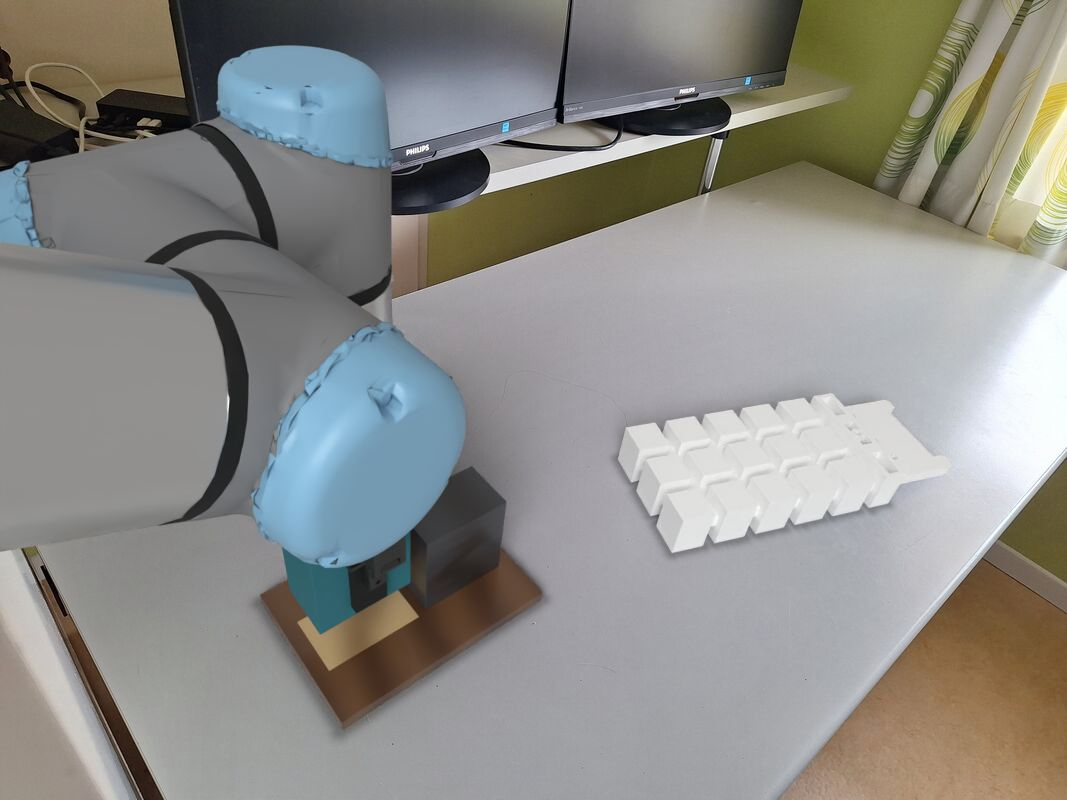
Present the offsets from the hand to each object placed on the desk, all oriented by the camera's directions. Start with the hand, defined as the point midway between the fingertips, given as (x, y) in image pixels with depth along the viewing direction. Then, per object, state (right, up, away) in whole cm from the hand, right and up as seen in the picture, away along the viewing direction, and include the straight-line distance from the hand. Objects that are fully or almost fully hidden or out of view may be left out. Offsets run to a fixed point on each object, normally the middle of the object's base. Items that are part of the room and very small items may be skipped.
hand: (350, 575), depth 60 cm
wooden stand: (+3, -4, +8) cm, 9 cm away
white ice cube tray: (+42, +5, +25) cm, 49 cm away
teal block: (0, -1, +1) cm, 1 cm away
